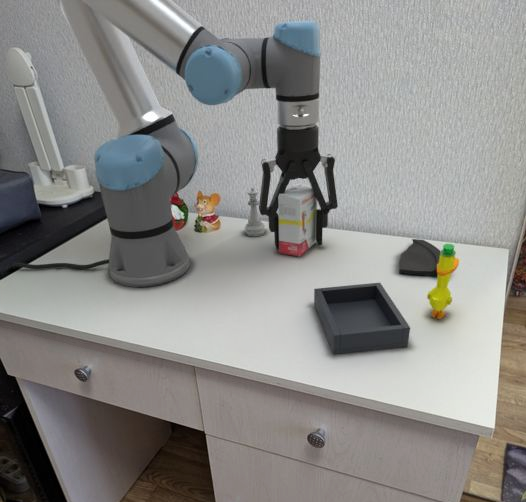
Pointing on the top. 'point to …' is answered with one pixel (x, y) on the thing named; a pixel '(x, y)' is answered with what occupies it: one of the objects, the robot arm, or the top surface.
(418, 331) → the top surface
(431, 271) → the dark sector wedge
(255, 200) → the chess piece
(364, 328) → the dark gray rectangular tray
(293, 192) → the ink box
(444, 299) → the toy figure
